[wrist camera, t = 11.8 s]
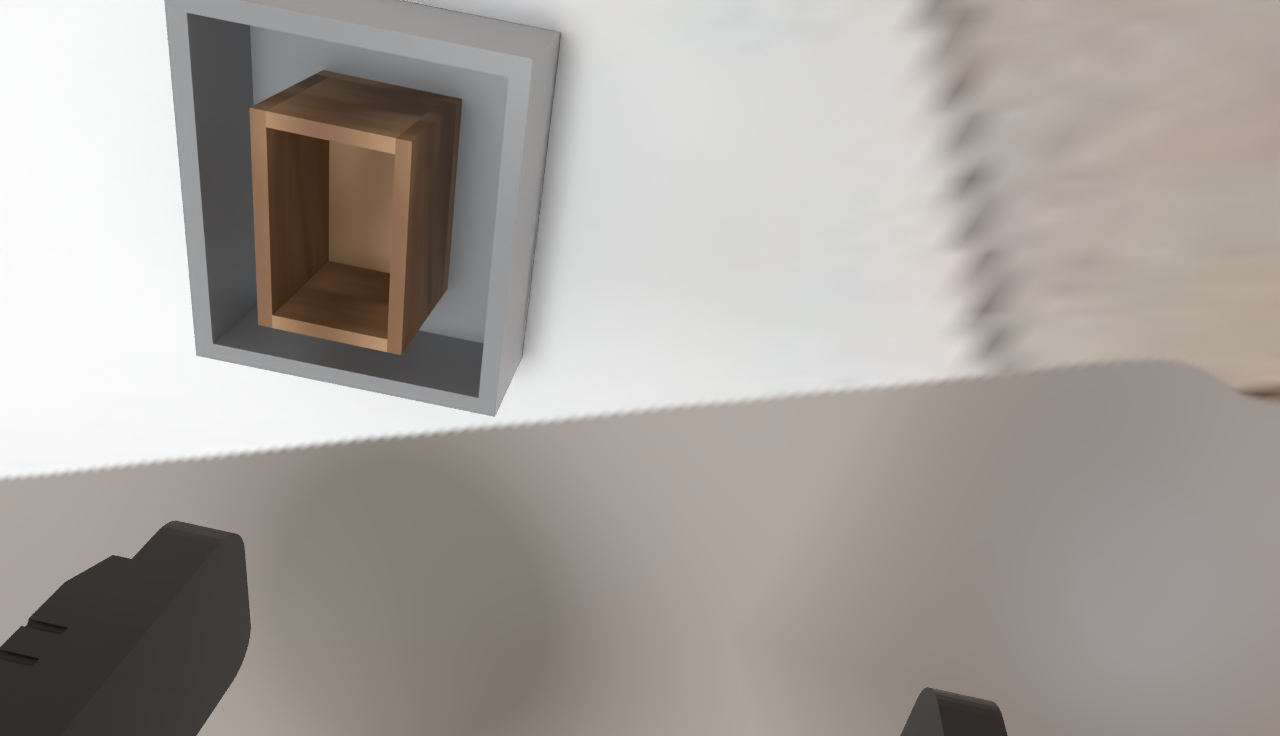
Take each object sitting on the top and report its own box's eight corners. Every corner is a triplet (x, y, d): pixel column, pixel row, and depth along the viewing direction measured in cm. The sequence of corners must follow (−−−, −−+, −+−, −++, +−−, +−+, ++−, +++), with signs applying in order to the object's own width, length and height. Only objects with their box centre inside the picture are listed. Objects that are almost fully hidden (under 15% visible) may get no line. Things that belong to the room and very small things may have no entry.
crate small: (462, 98, 38) (411, 141, 33) (447, 289, 43) (401, 355, 37) (323, 70, 39) (249, 107, 33) (323, 262, 43) (258, 324, 37)
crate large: (561, 32, 37) (532, 59, 33) (522, 357, 45) (494, 416, 41) (238, -32, 38) (162, -16, 33) (254, 302, 45) (196, 355, 41)
